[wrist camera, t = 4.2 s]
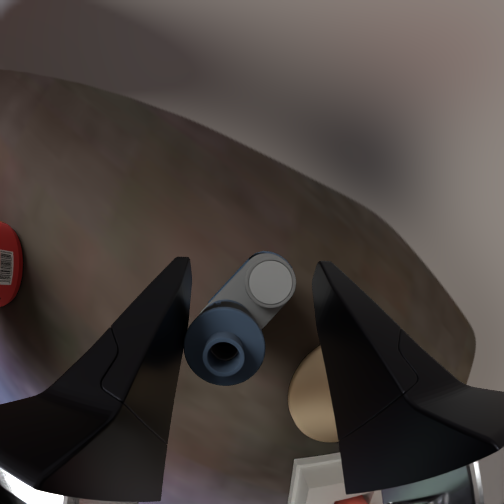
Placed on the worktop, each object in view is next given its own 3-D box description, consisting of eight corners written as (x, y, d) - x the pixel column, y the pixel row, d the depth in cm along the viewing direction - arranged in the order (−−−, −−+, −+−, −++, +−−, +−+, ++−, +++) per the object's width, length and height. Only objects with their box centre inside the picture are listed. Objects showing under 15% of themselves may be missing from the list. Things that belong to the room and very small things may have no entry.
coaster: (382, 425, 18) (388, 430, 17) (283, 442, 17) (286, 448, 16) (397, 330, 19) (403, 331, 18) (290, 337, 18) (294, 340, 17)
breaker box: (367, 500, 17) (382, 520, 13) (285, 517, 16) (292, 542, 12) (387, 440, 18) (409, 459, 14) (294, 458, 17) (305, 487, 13)
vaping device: (201, 309, 18) (152, 355, 6) (253, 254, 19) (293, 207, 7) (228, 335, 18) (228, 418, 6) (280, 279, 19) (362, 275, 7)
